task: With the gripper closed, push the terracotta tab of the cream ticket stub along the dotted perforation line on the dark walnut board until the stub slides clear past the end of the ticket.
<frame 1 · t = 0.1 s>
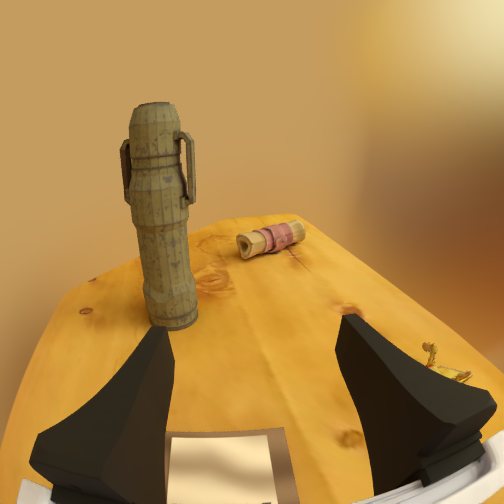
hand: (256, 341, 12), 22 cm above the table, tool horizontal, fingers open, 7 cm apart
scroll: (273, 252, 78), on the table
thermos: (173, 317, 50), on the table
origami crane: (428, 387, 32), on the table
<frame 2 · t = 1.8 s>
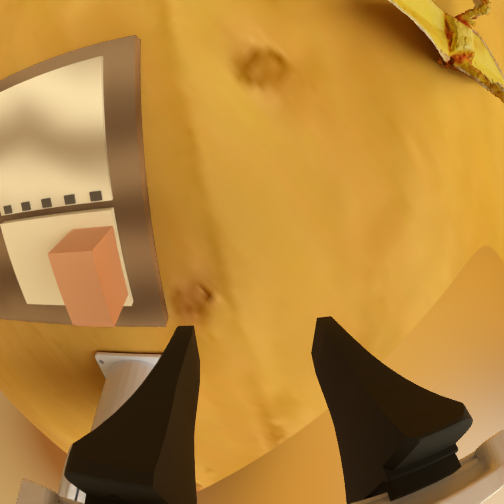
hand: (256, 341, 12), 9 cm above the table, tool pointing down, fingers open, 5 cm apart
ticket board: (11, 209, 17), on the table
origami crane: (442, 44, 14), on the table
stub: (50, 275, 16), point 3 cm above the table, slide at 0.0 cm
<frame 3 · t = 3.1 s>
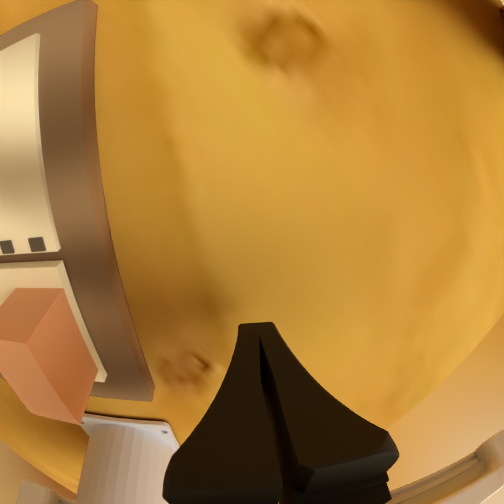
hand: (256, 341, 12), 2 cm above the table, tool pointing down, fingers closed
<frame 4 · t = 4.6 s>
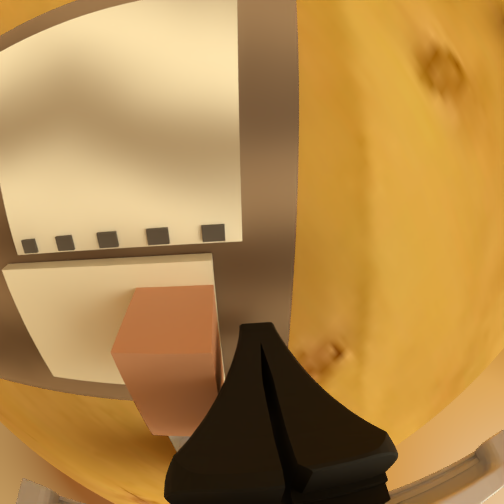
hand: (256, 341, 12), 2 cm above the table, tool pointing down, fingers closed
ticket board: (33, 240, 11), on the table
stub: (99, 358, 10), point 3 cm above the table, slide at 1.1 cm, touching gripper
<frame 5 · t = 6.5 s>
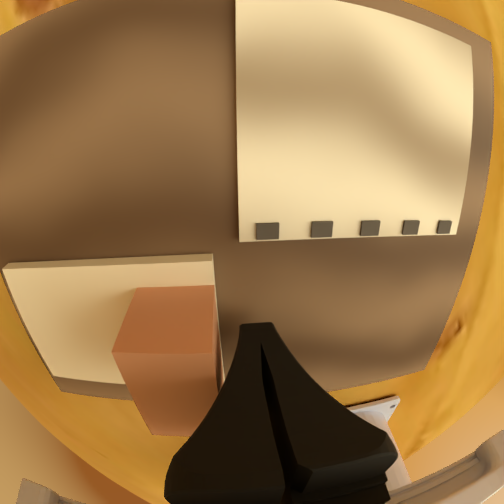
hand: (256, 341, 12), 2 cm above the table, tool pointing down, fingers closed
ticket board: (237, 226, 12), on the table
stub: (99, 358, 10), point 3 cm above the table, slide at 11.0 cm, touching gripper
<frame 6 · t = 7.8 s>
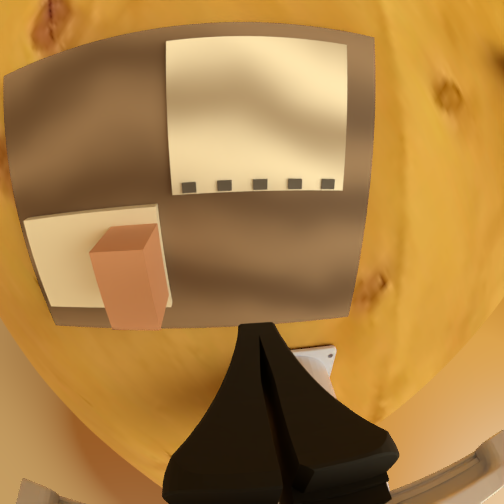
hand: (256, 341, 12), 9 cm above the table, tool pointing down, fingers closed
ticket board: (176, 188, 18), on the table
stub: (83, 275, 16), point 3 cm above the table, slide at 11.0 cm
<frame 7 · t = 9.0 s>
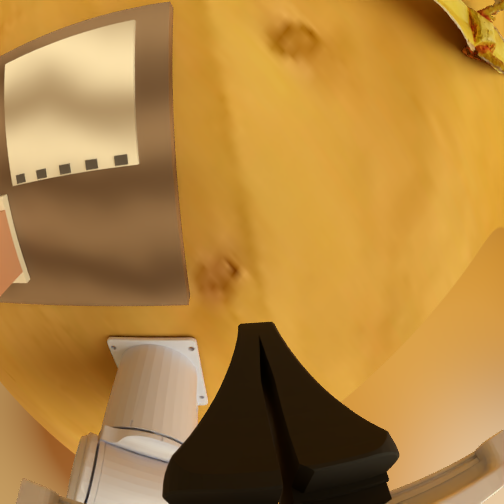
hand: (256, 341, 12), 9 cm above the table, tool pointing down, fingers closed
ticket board: (24, 180, 16), on the table
origami crane: (465, 36, 14), on the table
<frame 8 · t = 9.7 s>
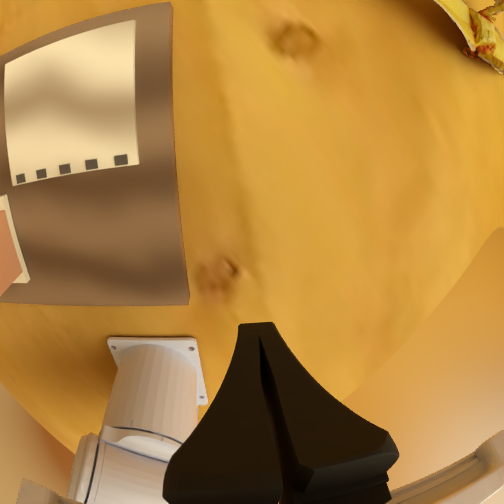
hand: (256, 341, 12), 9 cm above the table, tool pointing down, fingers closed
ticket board: (24, 180, 16), on the table
origami crane: (466, 37, 14), on the table
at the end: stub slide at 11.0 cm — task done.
